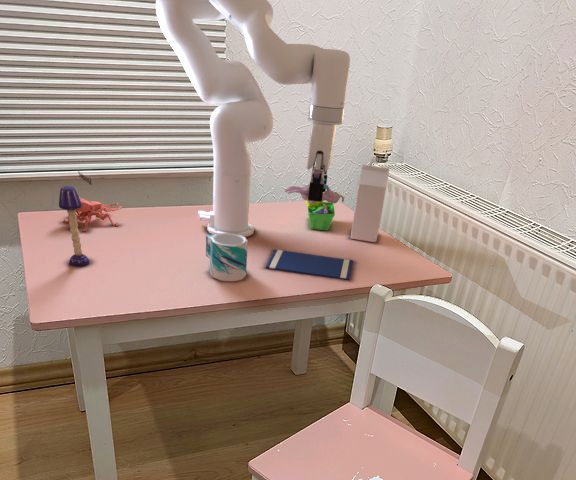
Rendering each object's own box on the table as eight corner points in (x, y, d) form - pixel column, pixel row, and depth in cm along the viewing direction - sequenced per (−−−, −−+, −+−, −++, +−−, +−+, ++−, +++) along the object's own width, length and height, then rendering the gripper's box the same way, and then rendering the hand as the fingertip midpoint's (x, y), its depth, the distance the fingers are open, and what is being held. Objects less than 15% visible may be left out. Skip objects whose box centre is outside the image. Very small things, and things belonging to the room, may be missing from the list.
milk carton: (375, 243, 158) (388, 171, 147) (350, 239, 159) (361, 167, 148) (377, 234, 164) (390, 165, 153) (353, 231, 165) (363, 161, 154)
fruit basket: (332, 232, 162) (338, 192, 156) (301, 229, 162) (305, 189, 155) (331, 219, 171) (336, 181, 165) (301, 217, 171) (305, 178, 165)
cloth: (265, 268, 137) (265, 266, 136) (274, 250, 147) (274, 249, 146) (349, 280, 135) (349, 278, 135) (352, 261, 145) (352, 260, 145)
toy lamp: (68, 267, 127) (58, 191, 118) (65, 259, 131) (54, 184, 122) (91, 265, 130) (82, 190, 120) (86, 257, 133) (78, 183, 124)
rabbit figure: (332, 203, 142) (278, 195, 135) (339, 178, 139) (284, 169, 132) (345, 211, 137) (289, 203, 130) (352, 186, 134) (296, 176, 127)
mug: (221, 283, 127) (222, 247, 123) (195, 264, 135) (195, 229, 130) (252, 277, 132) (254, 242, 127) (225, 258, 139) (226, 225, 135)
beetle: (74, 233, 144) (67, 182, 137) (57, 218, 152) (51, 169, 145) (130, 226, 152) (127, 177, 145) (112, 212, 160) (108, 165, 153)
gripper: (313, 107, 133) (305, 184, 143) (304, 118, 119) (296, 204, 129) (345, 110, 133) (335, 188, 143) (340, 123, 118) (329, 208, 128)
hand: (316, 195), depth 136 cm, fingers closed on rabbit figure, 7 cm apart
